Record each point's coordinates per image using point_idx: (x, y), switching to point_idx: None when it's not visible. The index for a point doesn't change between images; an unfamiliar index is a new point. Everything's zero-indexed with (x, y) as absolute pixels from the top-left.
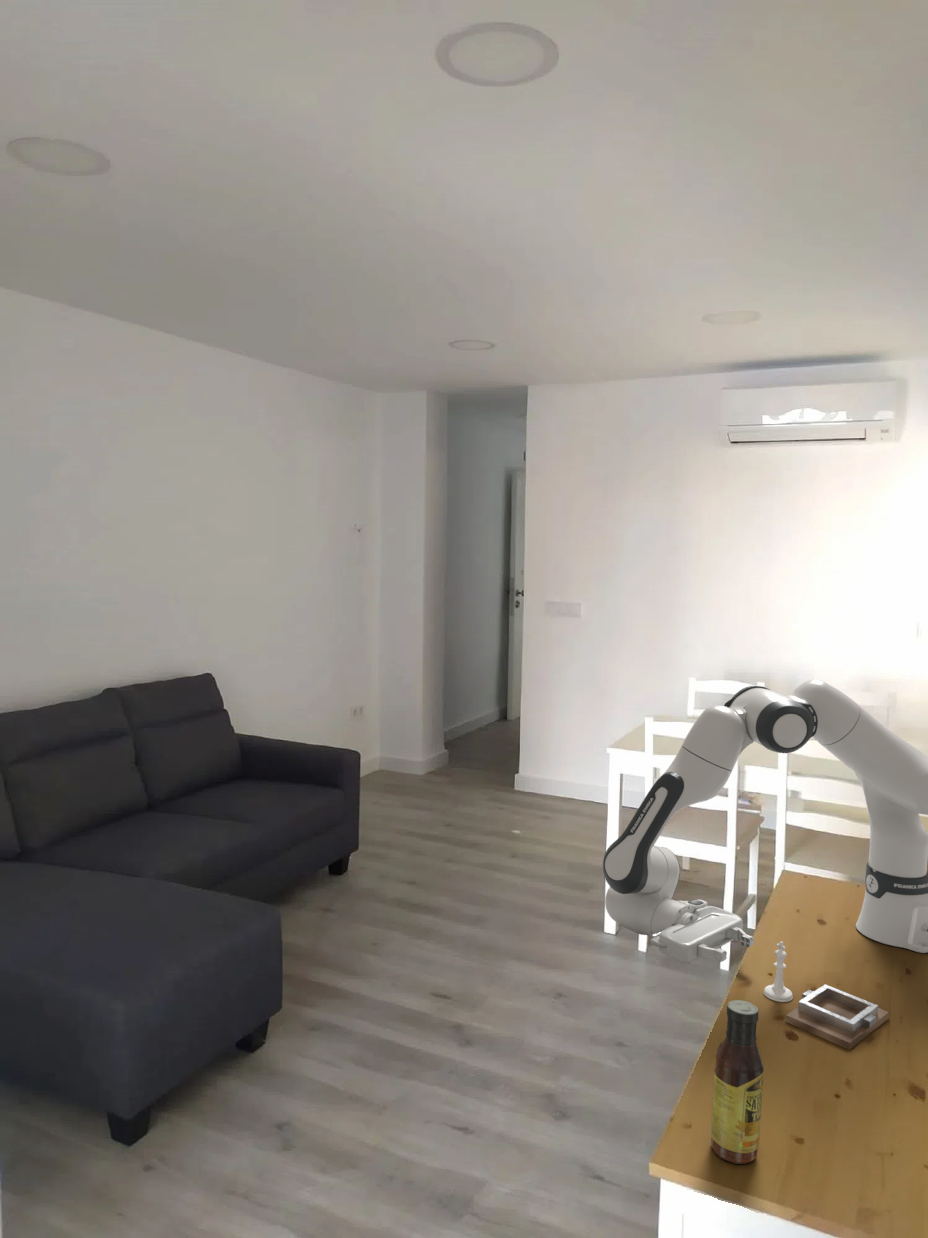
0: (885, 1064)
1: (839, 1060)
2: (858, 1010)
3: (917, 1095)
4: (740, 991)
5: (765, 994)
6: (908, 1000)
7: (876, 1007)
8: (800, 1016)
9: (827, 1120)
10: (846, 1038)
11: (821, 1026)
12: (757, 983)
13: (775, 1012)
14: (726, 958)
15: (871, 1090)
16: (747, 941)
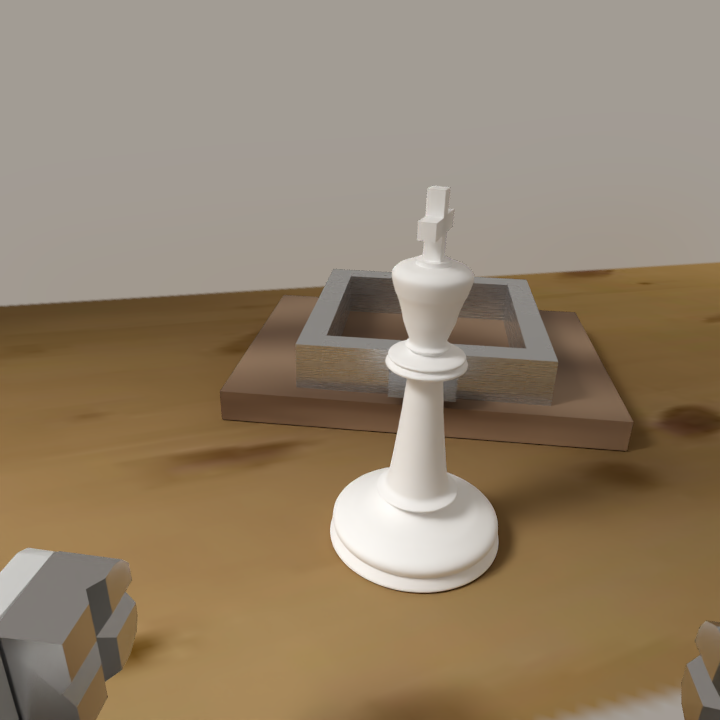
0: (543, 298)
1: (650, 338)
2: (345, 323)
3: (597, 270)
4: (591, 705)
5: (484, 565)
6: (109, 309)
7: (348, 270)
8: (582, 393)
9: None
10: (560, 317)
11: (570, 352)
12: (356, 663)
13: (598, 494)
14: (683, 676)
15: (686, 298)
16: (117, 600)
